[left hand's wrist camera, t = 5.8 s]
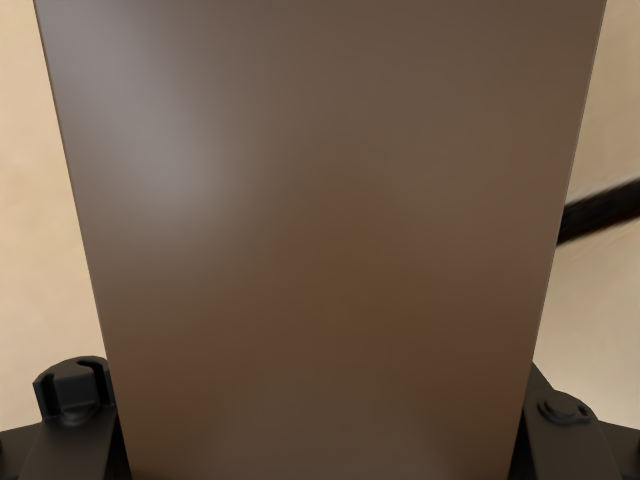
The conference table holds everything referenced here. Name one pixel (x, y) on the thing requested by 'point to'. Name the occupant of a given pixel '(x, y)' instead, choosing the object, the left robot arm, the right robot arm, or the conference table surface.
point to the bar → (319, 223)
